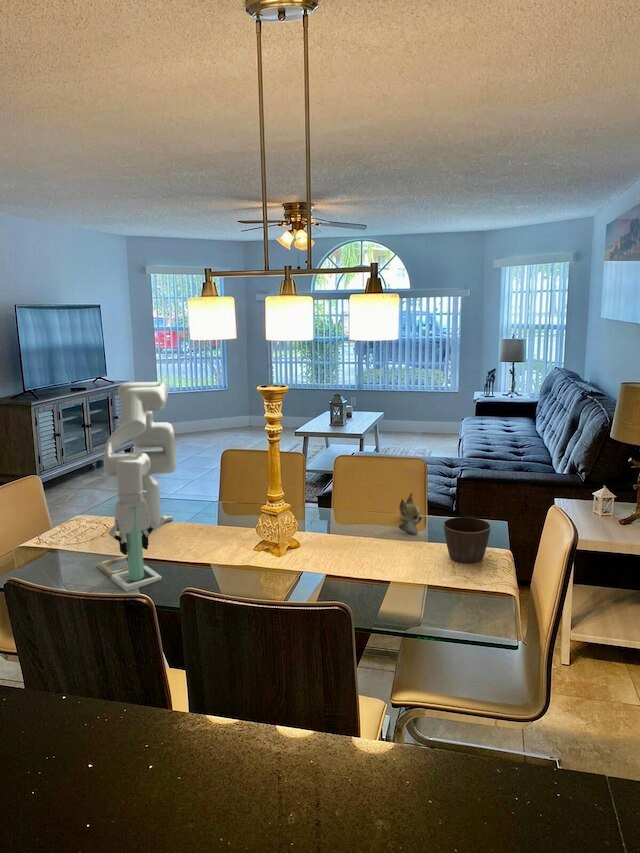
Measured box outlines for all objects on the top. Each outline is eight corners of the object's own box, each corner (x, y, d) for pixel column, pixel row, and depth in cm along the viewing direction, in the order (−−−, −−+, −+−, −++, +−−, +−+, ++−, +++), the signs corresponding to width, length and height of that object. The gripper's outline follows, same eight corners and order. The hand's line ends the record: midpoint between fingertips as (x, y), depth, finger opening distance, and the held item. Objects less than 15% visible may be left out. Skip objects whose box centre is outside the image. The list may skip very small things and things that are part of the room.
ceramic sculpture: (416, 540, 237) (416, 501, 234) (394, 536, 241) (394, 498, 238) (426, 531, 246) (426, 494, 243) (405, 528, 250) (405, 491, 247)
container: (143, 583, 202) (138, 508, 197) (124, 583, 202) (119, 508, 197) (148, 575, 208) (143, 502, 203) (130, 575, 208) (125, 502, 203)
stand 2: (146, 569, 213) (146, 565, 213) (162, 581, 204) (161, 576, 204) (111, 579, 206) (111, 574, 205) (125, 591, 196) (125, 586, 196)
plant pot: (482, 583, 198) (483, 535, 195) (436, 574, 205) (437, 527, 203) (494, 567, 211) (495, 521, 208) (450, 559, 218) (451, 514, 215)
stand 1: (131, 558, 223) (131, 554, 223) (145, 568, 214) (145, 564, 214) (97, 567, 216) (97, 563, 215) (110, 578, 206) (110, 573, 206)
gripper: (151, 489, 208) (155, 541, 211) (99, 499, 197) (103, 554, 201) (161, 494, 202) (164, 547, 205) (108, 505, 192) (112, 561, 195)
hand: (134, 550), depth 203 cm, fingers open, 6 cm apart
